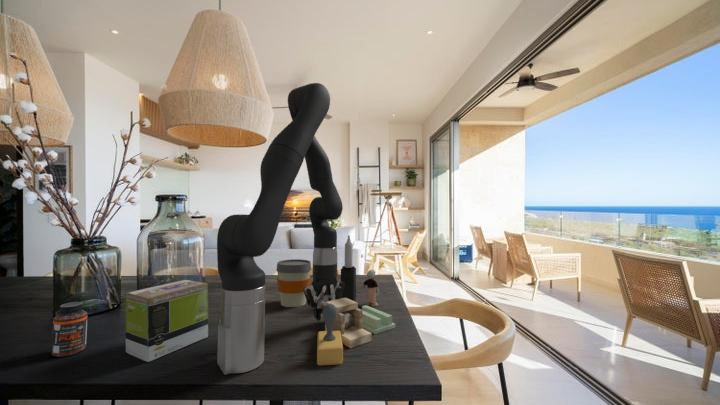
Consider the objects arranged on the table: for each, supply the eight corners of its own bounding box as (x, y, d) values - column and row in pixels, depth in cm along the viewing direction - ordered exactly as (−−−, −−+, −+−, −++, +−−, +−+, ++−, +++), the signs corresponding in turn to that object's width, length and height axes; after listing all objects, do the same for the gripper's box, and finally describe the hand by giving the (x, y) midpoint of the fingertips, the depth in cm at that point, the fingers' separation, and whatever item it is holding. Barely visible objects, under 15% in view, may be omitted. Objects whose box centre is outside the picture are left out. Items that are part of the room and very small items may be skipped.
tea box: (185, 330, 84) (186, 278, 84) (208, 338, 79) (210, 282, 80) (123, 353, 71) (125, 290, 71) (146, 364, 66) (148, 297, 66)
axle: (353, 327, 83) (353, 312, 83) (341, 330, 80) (342, 315, 80) (326, 313, 94) (326, 300, 94) (315, 315, 91) (315, 302, 91)
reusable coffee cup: (299, 296, 118) (300, 258, 119) (317, 303, 109) (318, 262, 109) (269, 302, 110) (270, 261, 110) (286, 311, 101) (287, 266, 101)
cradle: (375, 334, 83) (375, 321, 83) (347, 320, 93) (347, 309, 93) (395, 327, 88) (395, 315, 88) (367, 314, 98) (367, 304, 98)
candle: (353, 305, 107) (354, 236, 107) (339, 304, 108) (340, 235, 108) (356, 301, 112) (357, 234, 112) (343, 300, 113) (343, 234, 113)
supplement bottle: (55, 360, 67) (57, 310, 67) (47, 353, 70) (49, 305, 70) (90, 350, 72) (91, 303, 72) (81, 344, 75) (82, 298, 75)
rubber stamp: (317, 345, 76) (318, 298, 76) (340, 344, 77) (340, 297, 77) (316, 365, 66) (317, 311, 67) (342, 364, 67) (343, 310, 67)
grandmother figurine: (382, 304, 109) (383, 269, 109) (377, 307, 105) (378, 271, 106) (364, 301, 113) (365, 267, 113) (359, 303, 109) (359, 269, 110)
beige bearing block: (350, 348, 74) (350, 314, 75) (324, 332, 84) (325, 302, 84) (371, 340, 79) (371, 308, 79) (345, 326, 88) (345, 297, 88)
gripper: (337, 258, 99) (337, 310, 98) (298, 262, 90) (297, 319, 90) (351, 261, 93) (350, 316, 92) (310, 266, 84) (309, 327, 84)
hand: (324, 317), depth 91 cm, fingers closed on axle, 4 cm apart
